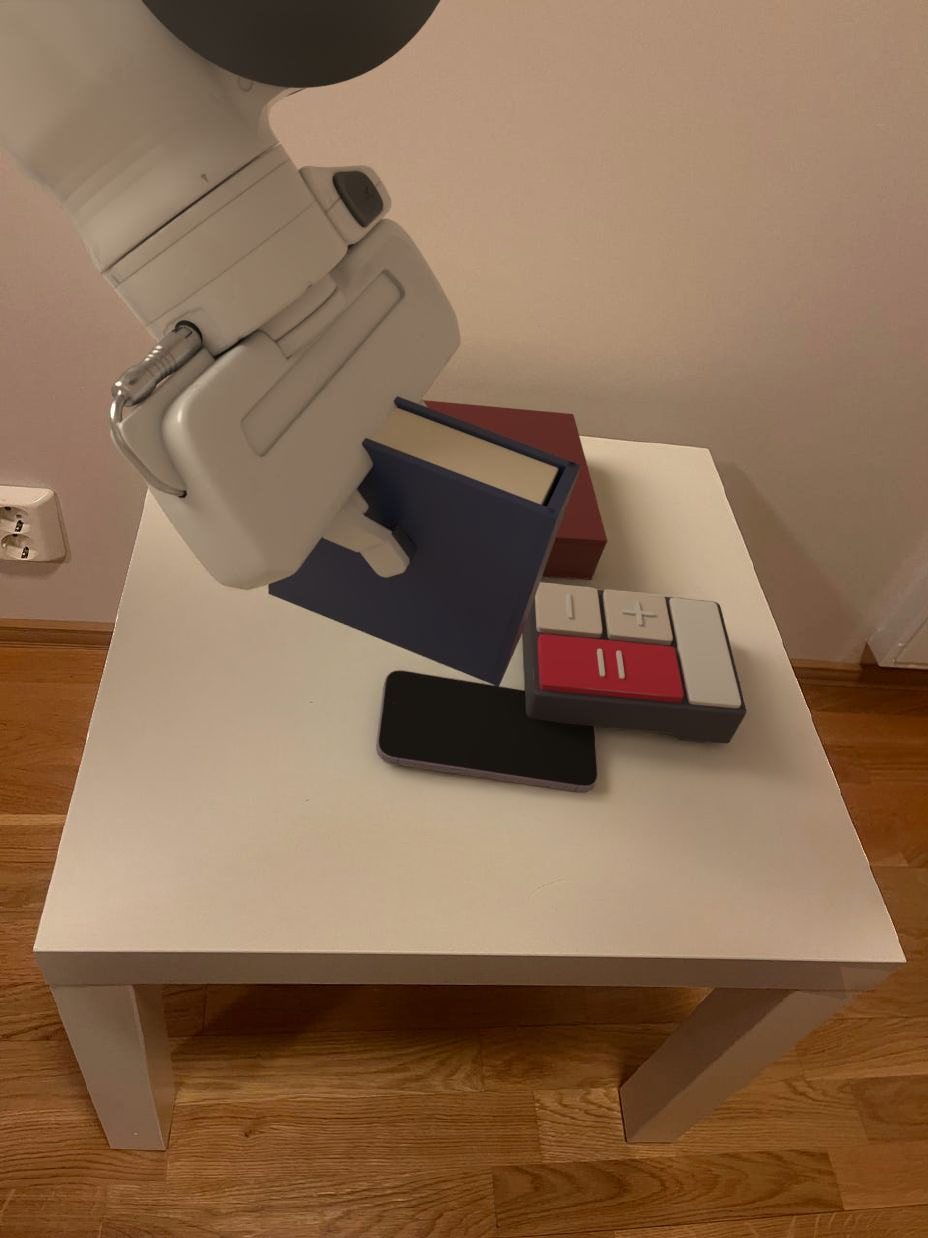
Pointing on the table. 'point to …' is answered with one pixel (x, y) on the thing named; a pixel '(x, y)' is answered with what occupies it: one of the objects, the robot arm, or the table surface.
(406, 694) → the smartphone
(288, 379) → the robot arm
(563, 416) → the encyclopedia
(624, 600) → the calculator
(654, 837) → the table surface
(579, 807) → the table surface
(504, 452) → the hardcover book
